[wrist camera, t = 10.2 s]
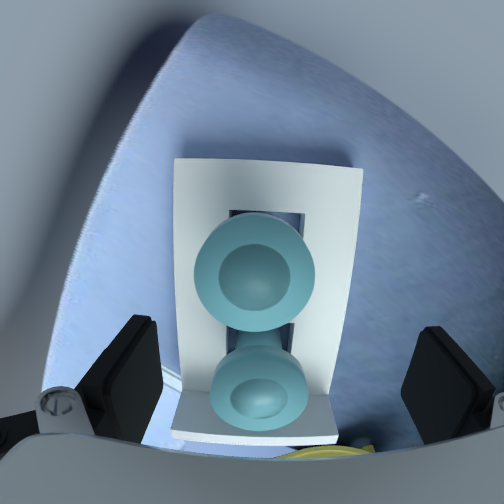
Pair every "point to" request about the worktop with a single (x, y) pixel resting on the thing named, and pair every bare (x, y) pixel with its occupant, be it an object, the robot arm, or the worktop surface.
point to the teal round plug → (254, 272)
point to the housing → (301, 327)
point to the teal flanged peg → (259, 383)
